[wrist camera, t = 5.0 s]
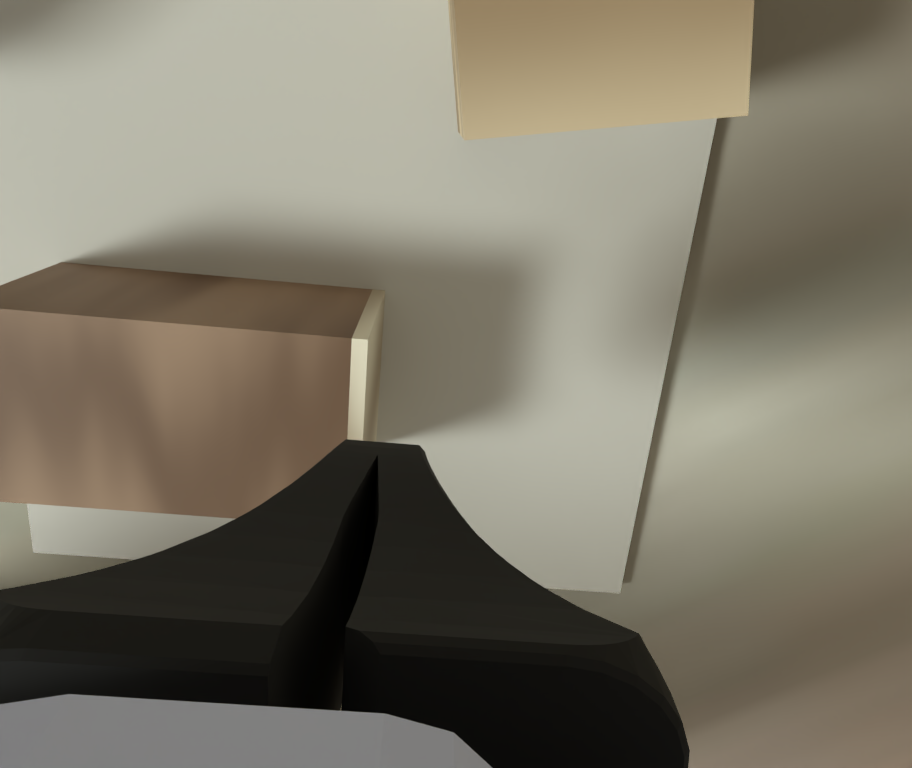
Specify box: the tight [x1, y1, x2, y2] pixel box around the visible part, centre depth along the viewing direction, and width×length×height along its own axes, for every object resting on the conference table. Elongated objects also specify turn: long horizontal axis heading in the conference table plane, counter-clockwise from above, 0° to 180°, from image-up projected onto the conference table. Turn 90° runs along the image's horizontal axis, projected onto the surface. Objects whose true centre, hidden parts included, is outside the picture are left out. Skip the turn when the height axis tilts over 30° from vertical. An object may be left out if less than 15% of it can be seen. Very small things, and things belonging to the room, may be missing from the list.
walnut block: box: [0, 262, 385, 519], centre depth 16 cm, size 4×4×8 cm
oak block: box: [448, 0, 754, 140], centre depth 12 cm, size 4×4×6 cm
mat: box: [0, 0, 717, 594], centre depth 17 cm, size 18×16×1 cm
